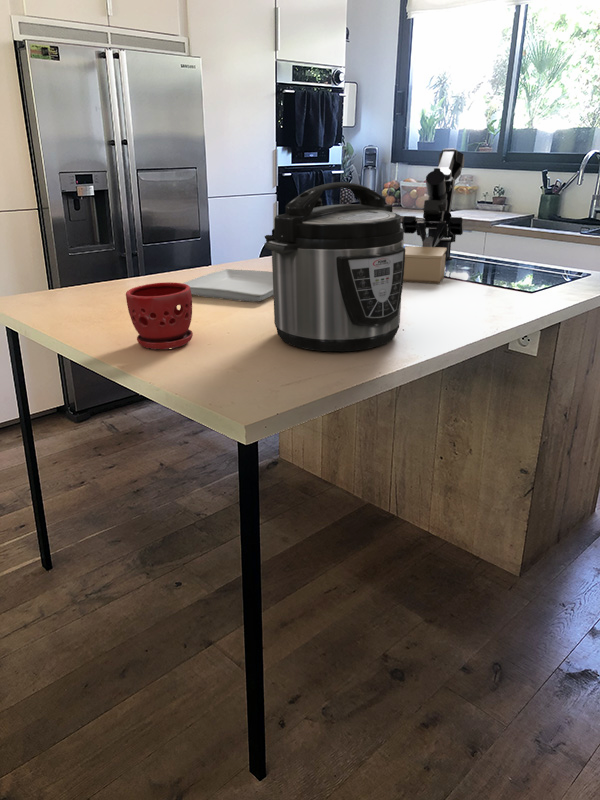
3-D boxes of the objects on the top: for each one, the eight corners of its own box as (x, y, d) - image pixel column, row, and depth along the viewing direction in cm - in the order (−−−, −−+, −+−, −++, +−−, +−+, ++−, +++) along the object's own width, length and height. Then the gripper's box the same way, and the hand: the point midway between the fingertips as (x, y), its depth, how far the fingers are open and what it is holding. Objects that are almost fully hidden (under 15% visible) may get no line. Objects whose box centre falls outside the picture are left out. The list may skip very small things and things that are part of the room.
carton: (405, 275, 200) (406, 252, 197) (444, 277, 196) (445, 253, 193) (398, 281, 191) (399, 257, 188) (439, 283, 187) (440, 259, 184)
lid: (410, 246, 203) (410, 236, 202) (449, 248, 199) (450, 237, 198) (399, 260, 189) (399, 249, 187) (441, 262, 185) (442, 251, 183)
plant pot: (155, 333, 143) (150, 279, 138) (206, 338, 138) (202, 283, 134) (119, 349, 132) (111, 292, 127) (173, 356, 127) (167, 297, 122)
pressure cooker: (269, 360, 124) (263, 188, 112) (265, 322, 150) (260, 180, 138) (421, 355, 126) (431, 185, 114) (391, 318, 152) (397, 177, 140)
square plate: (175, 298, 176) (174, 284, 175) (227, 279, 199) (226, 267, 198) (261, 307, 166) (260, 292, 164) (305, 286, 188) (305, 273, 187)
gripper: (404, 189, 199) (395, 230, 194) (465, 189, 193) (458, 232, 188) (407, 212, 209) (399, 252, 204) (466, 213, 203) (459, 254, 198)
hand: (428, 247), depth 198 cm, fingers closed on lid, 2 cm apart
